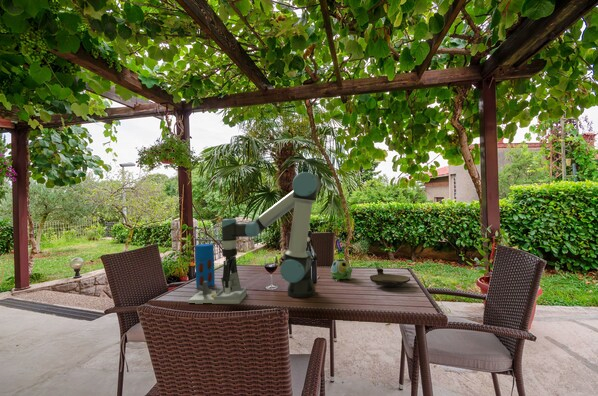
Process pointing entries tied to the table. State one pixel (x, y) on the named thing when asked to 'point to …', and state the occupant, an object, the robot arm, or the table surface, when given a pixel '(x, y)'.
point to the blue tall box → (204, 264)
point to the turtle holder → (341, 269)
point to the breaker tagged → (205, 288)
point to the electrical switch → (233, 282)
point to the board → (219, 297)
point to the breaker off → (202, 289)
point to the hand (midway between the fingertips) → (230, 290)
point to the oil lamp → (388, 279)
